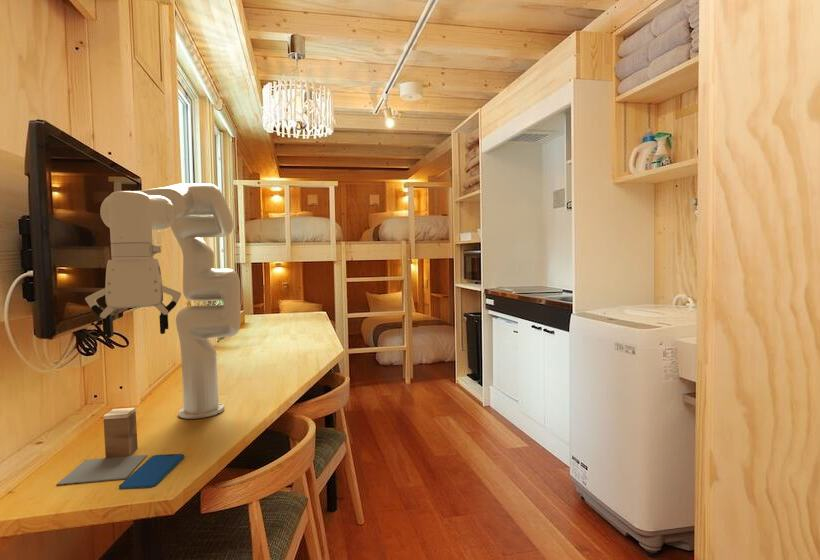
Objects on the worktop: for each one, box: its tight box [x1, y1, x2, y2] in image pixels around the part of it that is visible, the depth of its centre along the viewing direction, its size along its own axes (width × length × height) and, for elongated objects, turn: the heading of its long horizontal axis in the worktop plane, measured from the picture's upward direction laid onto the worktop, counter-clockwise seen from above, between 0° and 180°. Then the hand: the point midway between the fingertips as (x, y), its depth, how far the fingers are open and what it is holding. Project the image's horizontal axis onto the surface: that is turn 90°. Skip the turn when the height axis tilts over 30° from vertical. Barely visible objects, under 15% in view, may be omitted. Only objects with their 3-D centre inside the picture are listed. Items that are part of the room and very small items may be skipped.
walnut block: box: [102, 407, 139, 458], centre depth 114 cm, size 5×5×10 cm
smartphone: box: [118, 453, 185, 490], centre depth 104 cm, size 7×1×15 cm
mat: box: [56, 454, 148, 486], centre depth 105 cm, size 12×13×1 cm
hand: (137, 335), depth 101 cm, fingers open, 9 cm apart
